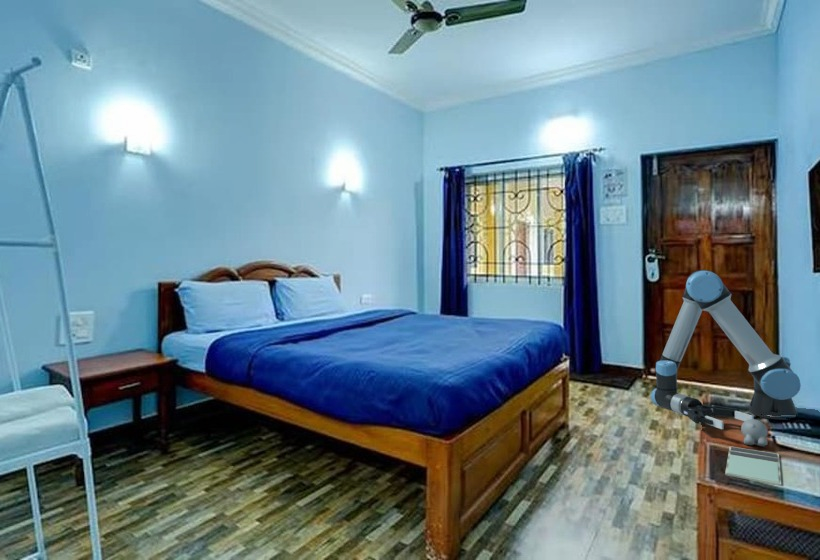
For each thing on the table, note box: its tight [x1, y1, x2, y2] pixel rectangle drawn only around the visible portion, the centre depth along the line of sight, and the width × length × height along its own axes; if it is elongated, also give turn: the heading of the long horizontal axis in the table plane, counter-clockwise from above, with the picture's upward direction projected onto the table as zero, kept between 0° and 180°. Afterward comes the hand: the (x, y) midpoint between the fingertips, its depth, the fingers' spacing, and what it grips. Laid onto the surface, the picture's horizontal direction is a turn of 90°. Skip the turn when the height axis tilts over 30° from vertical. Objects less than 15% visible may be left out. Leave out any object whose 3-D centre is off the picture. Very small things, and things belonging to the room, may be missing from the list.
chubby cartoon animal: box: [740, 418, 769, 447], centre depth 161 cm, size 7×12×8 cm, turn 151°
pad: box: [727, 455, 779, 483], centre depth 142 cm, size 15×12×1 cm
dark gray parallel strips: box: [730, 446, 778, 462], centre depth 152 cm, size 6×12×1 cm, turn 53°
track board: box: [724, 445, 782, 487], centre depth 145 cm, size 24×13×1 cm, turn 143°
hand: (738, 422), depth 165 cm, fingers open, 13 cm apart
